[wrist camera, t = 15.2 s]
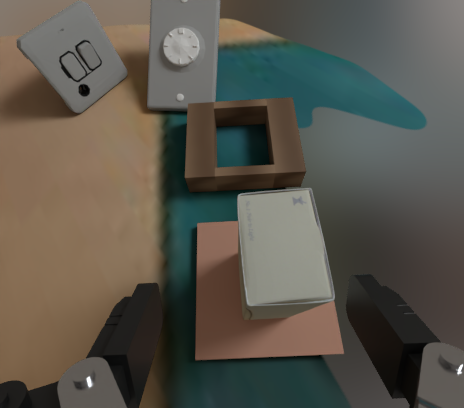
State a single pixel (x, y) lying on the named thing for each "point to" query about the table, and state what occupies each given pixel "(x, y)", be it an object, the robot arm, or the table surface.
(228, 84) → the table surface
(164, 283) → the table surface
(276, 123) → the frame
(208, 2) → the light switch
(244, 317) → the skincare box
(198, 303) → the terracotta mat
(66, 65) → the electrical switch
